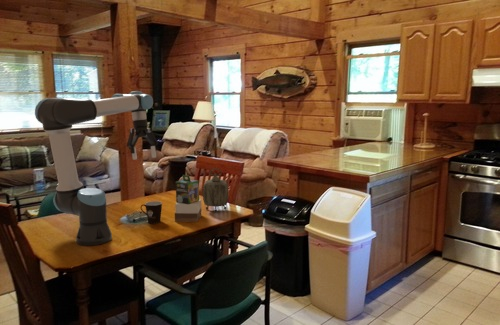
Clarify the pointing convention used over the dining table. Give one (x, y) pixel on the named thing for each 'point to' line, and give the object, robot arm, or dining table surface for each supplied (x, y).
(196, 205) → the cream block
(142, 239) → the dining table surface
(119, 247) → the dining table surface
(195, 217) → the grey square block
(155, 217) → the coffee mug
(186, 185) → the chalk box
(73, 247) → the dining table surface
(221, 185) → the olive tall rounded piece
